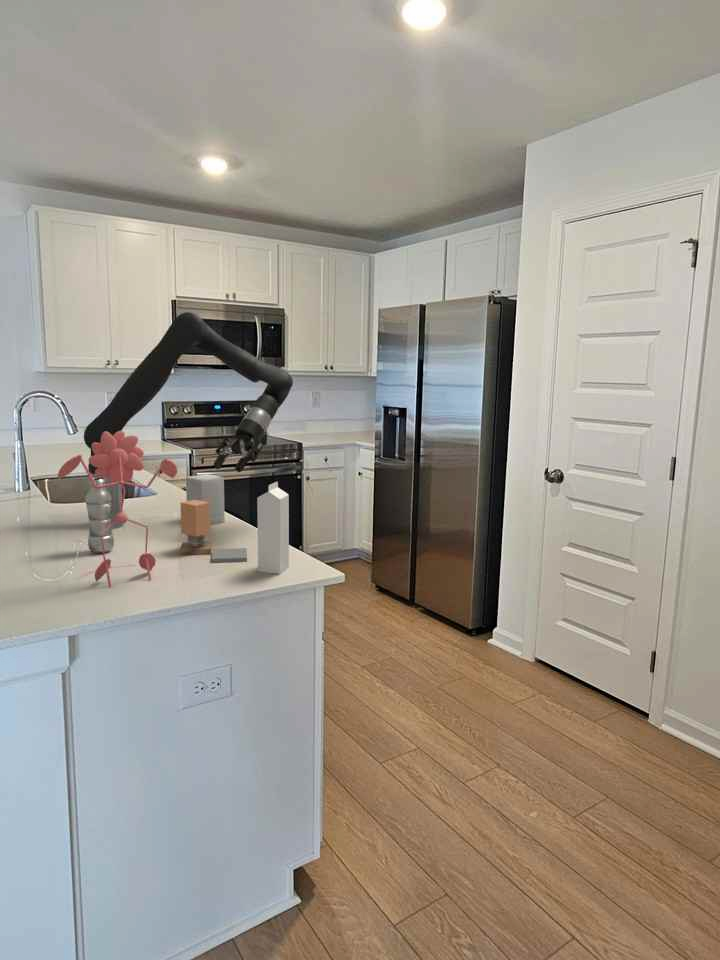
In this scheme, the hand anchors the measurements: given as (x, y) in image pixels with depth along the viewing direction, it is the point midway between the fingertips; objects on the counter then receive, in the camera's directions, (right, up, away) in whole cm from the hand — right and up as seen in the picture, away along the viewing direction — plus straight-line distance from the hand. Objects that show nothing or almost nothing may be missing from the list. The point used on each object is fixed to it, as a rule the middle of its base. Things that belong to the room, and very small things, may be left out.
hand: (226, 469), depth 176 cm
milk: (+16, -26, -20) cm, 37 cm away
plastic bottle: (-32, -23, -9) cm, 40 cm away
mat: (+3, -24, -11) cm, 26 cm away
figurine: (-19, -26, -27) cm, 42 cm away
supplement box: (-12, -17, +26) cm, 34 cm away
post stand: (-7, -22, -6) cm, 24 cm away
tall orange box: (-7, -18, -7) cm, 20 cm away
